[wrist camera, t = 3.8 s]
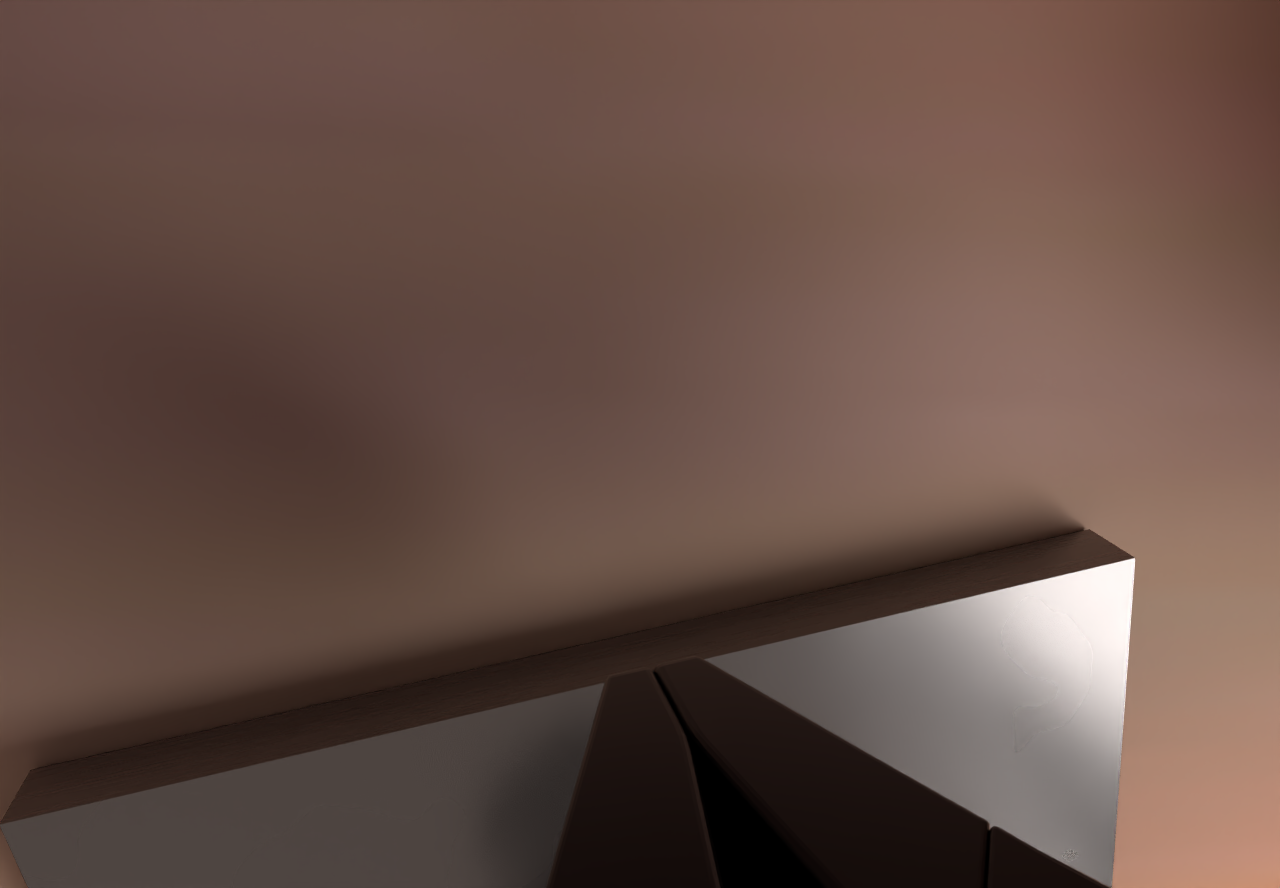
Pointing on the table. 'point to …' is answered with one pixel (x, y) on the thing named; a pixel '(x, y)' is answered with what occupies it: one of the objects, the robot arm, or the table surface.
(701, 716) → the robot arm
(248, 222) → the table surface
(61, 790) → the metal cylinder assembly
